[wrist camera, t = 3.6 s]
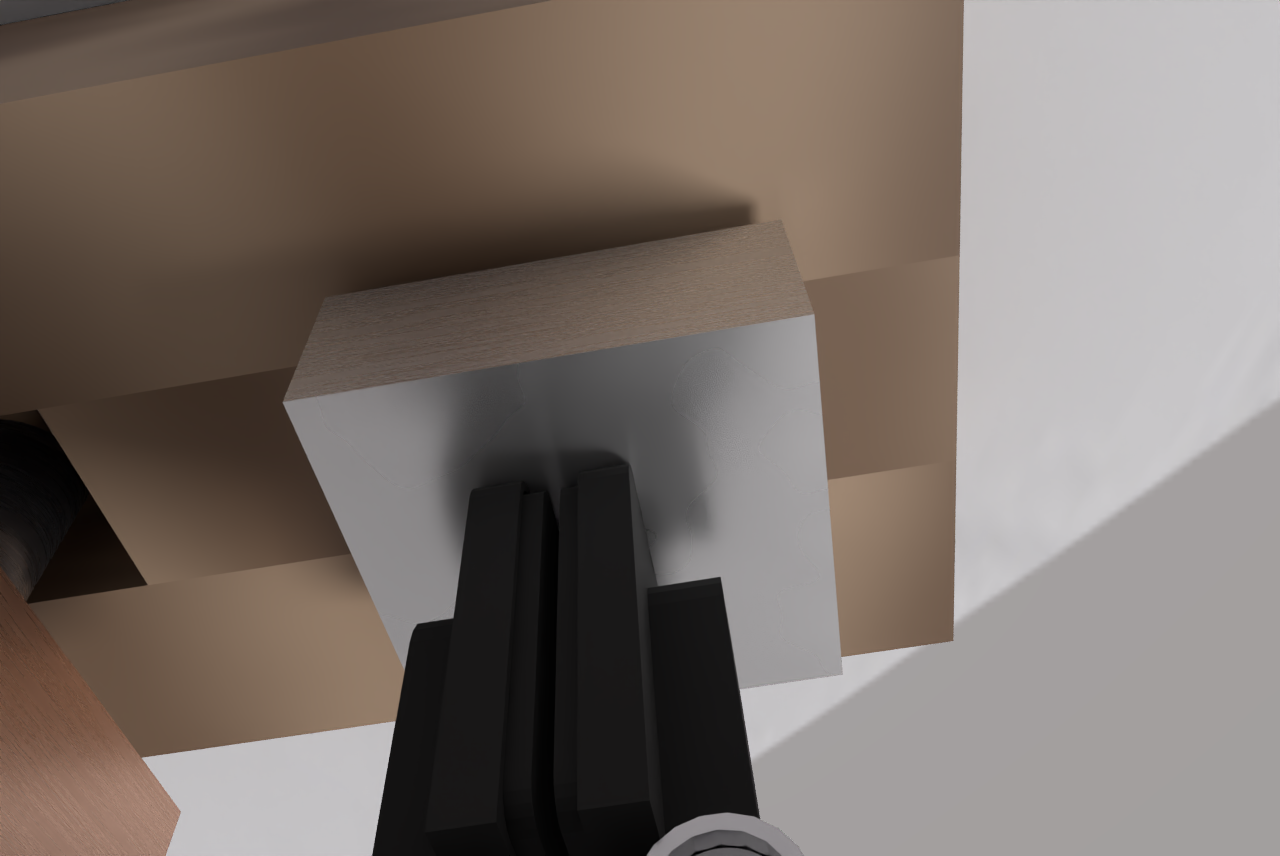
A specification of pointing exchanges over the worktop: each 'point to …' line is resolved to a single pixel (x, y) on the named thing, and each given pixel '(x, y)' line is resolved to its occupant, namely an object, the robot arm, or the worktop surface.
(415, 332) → the button
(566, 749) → the robot arm
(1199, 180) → the worktop surface
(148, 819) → the middle button
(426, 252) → the button panel
